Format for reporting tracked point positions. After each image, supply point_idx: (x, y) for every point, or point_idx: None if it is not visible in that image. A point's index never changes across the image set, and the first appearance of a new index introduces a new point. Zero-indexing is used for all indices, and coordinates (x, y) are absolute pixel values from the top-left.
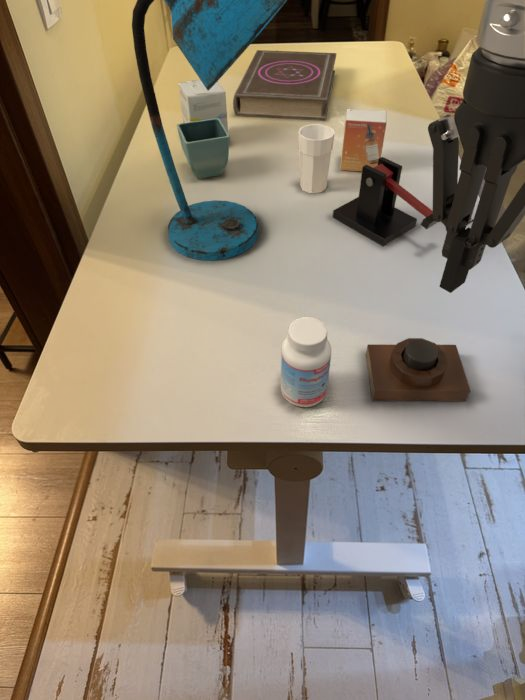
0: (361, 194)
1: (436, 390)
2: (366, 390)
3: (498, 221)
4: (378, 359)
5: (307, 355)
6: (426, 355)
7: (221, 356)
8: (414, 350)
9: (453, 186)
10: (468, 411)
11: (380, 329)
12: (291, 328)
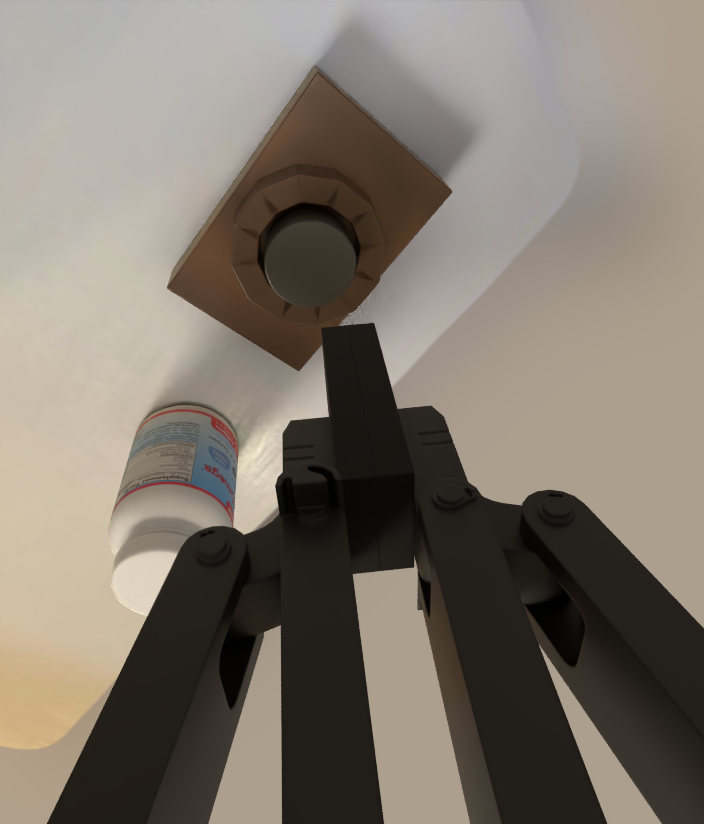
0: None
1: (392, 261)
2: None
3: (585, 707)
4: (227, 302)
5: None
6: (332, 270)
7: (8, 516)
8: (298, 282)
9: (204, 720)
10: (463, 199)
11: (105, 163)
12: (136, 607)
